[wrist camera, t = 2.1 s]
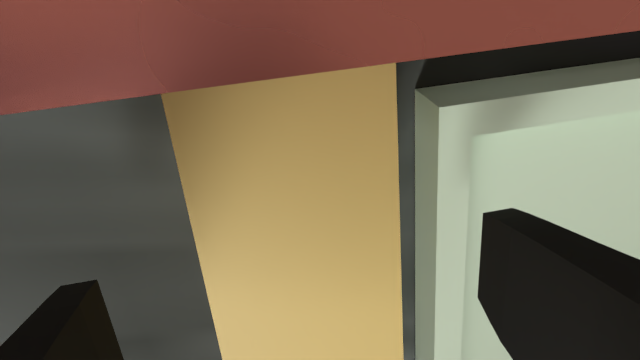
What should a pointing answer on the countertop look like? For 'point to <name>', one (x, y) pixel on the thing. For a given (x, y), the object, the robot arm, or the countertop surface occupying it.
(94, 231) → the countertop surface
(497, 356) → the tray
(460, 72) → the countertop surface
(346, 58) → the dispenser
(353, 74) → the tan rectangular block
